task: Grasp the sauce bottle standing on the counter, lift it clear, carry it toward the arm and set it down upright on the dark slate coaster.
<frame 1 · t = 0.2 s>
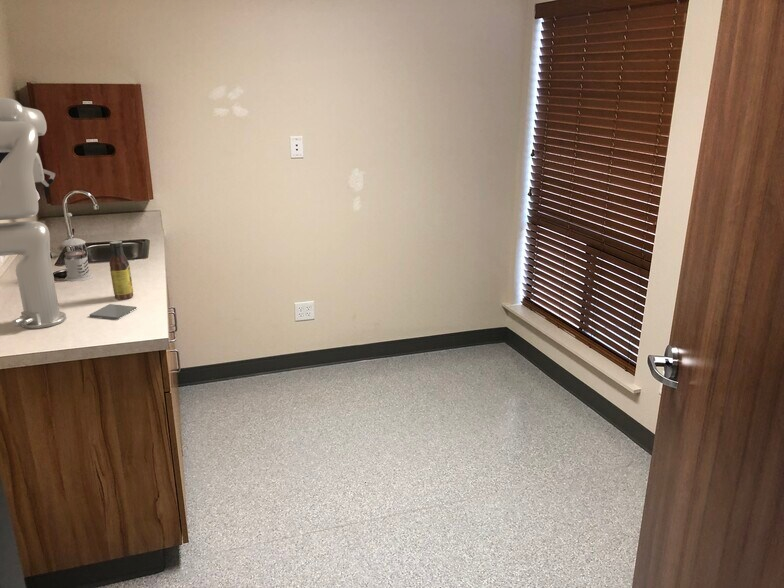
hand: (31, 198, 213), 31 cm above the worktop, tool pointing down, fingers open, 9 cm apart
sauce bottle: (124, 297, 208), on the worktop
coaster: (113, 312, 194), on the worktop
french press: (80, 277, 229), on the worktop
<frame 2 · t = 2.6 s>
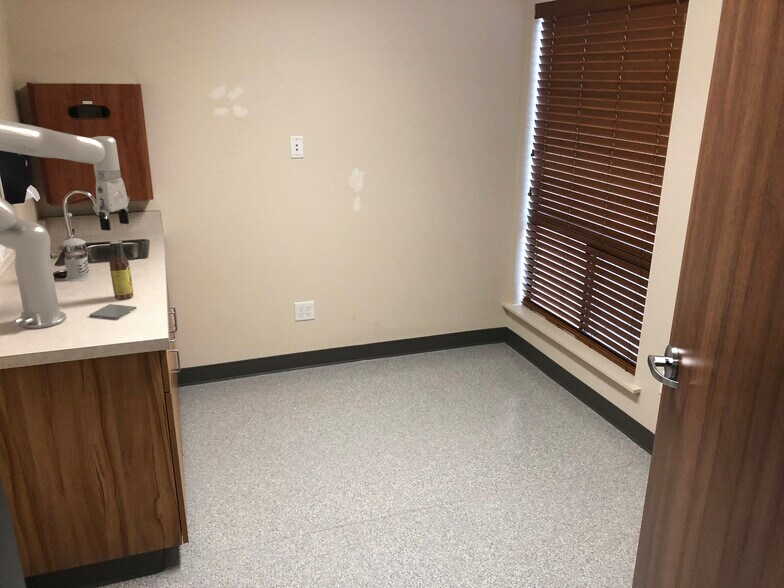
hand: (115, 226, 200), 25 cm above the worktop, tool pointing down, fingers open, 9 cm apart
nothing on the worktop moved.
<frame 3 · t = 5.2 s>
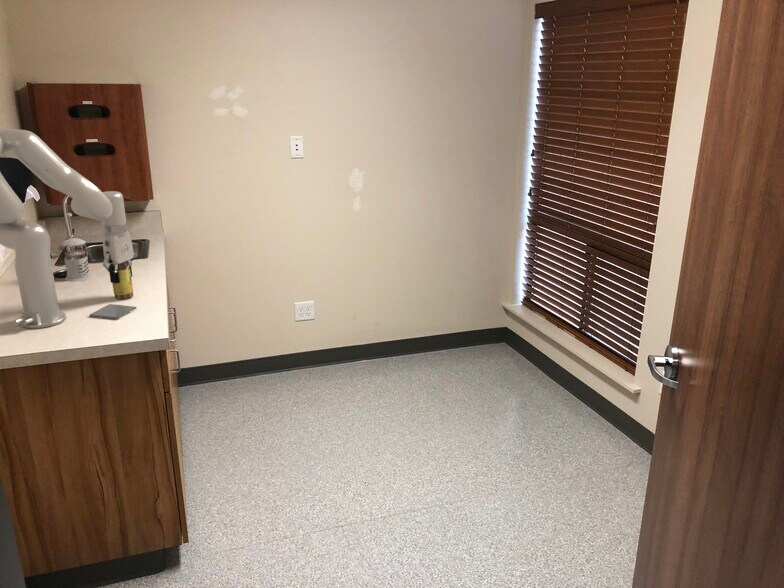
hand: (121, 279, 206), 7 cm above the worktop, tool pointing down, fingers closed on sauce bottle, 6 cm apart
sauce bottle: (124, 297, 208), on the worktop, touching gripper
everything else where it was.
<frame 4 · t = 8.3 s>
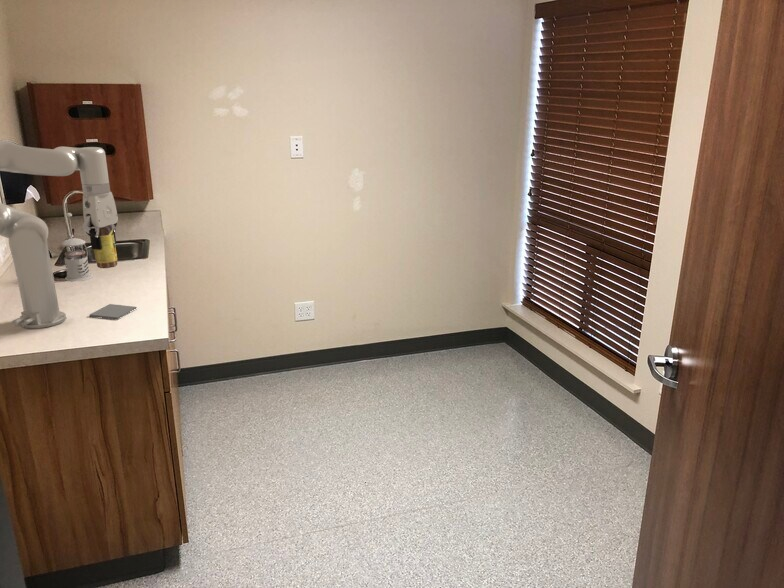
hand: (104, 246, 187), 22 cm above the worktop, tool pointing down, fingers closed on sauce bottle, 6 cm apart
sauce bottle: (107, 266, 189), point 16 cm above the worktop, touching gripper
everything else where it was.
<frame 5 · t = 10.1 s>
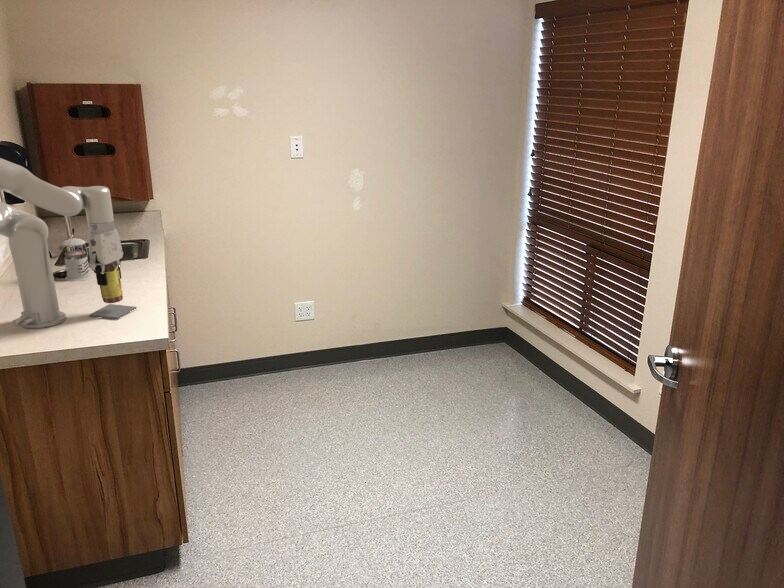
hand: (109, 281, 191), 11 cm above the worktop, tool pointing down, fingers closed on sauce bottle, 6 cm apart
sauce bottle: (112, 301, 193), point 4 cm above the worktop, touching gripper
everything else where it was.
when the fingers open (8 cm above the worktop, at t = 11.6 s): sauce bottle stays where it is, resting on coaster.
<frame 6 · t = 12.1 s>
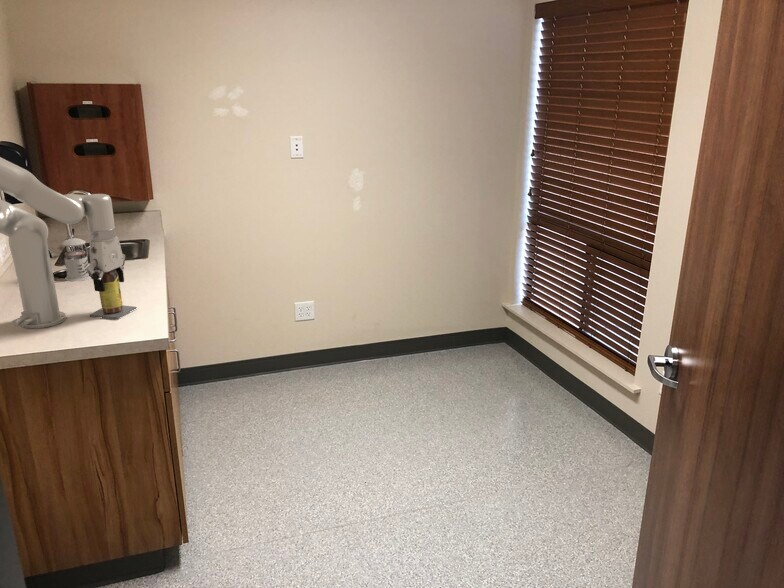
hand: (110, 286, 191), 9 cm above the worktop, tool pointing down, fingers open, 9 cm apart
sauce bottle: (112, 311, 194), point 1 cm above the worktop, touching coaster
everything else where it was.
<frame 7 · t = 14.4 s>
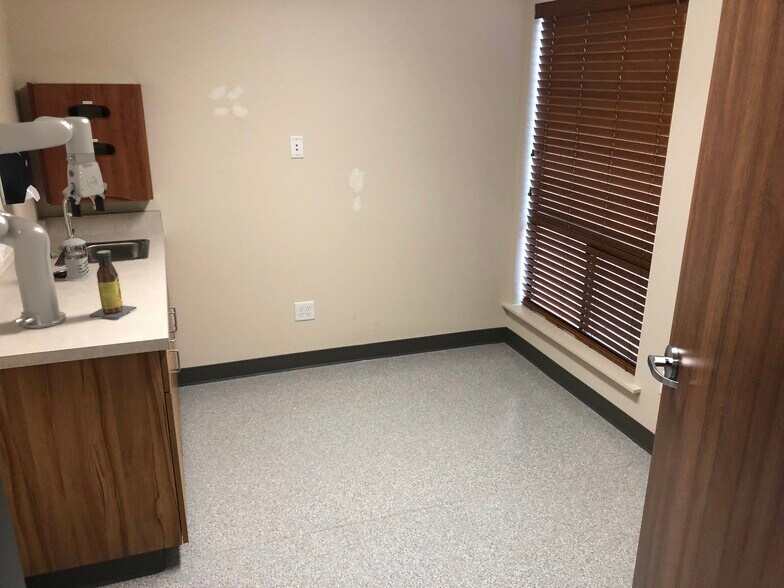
hand: (89, 213, 189), 31 cm above the worktop, tool pointing down, fingers open, 9 cm apart
nothing on the worktop moved.
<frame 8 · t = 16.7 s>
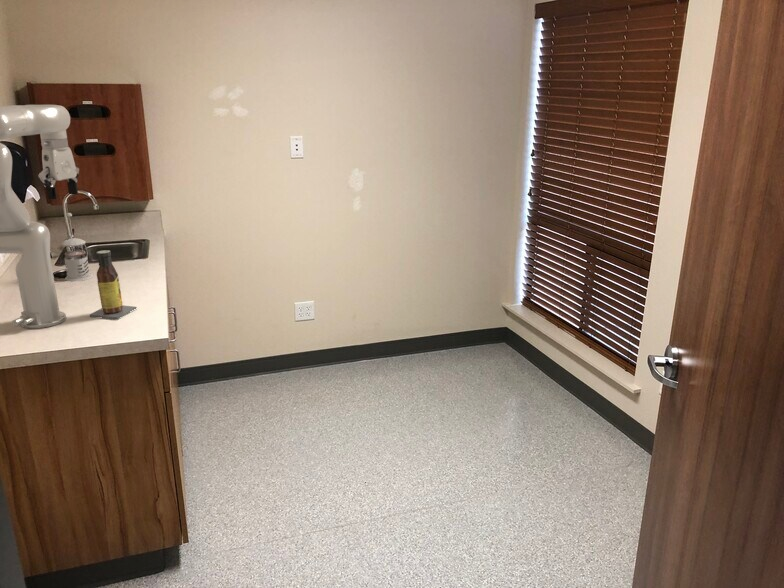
hand: (63, 196, 200), 34 cm above the worktop, tool pointing down, fingers open, 9 cm apart
nothing on the worktop moved.
at the end: sauce bottle inside the target area on the coaster (0.3 cm from its centre), point 0.6 cm above the coaster's base; sauce bottle tilted 0°; the gripper is holding nothing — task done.
